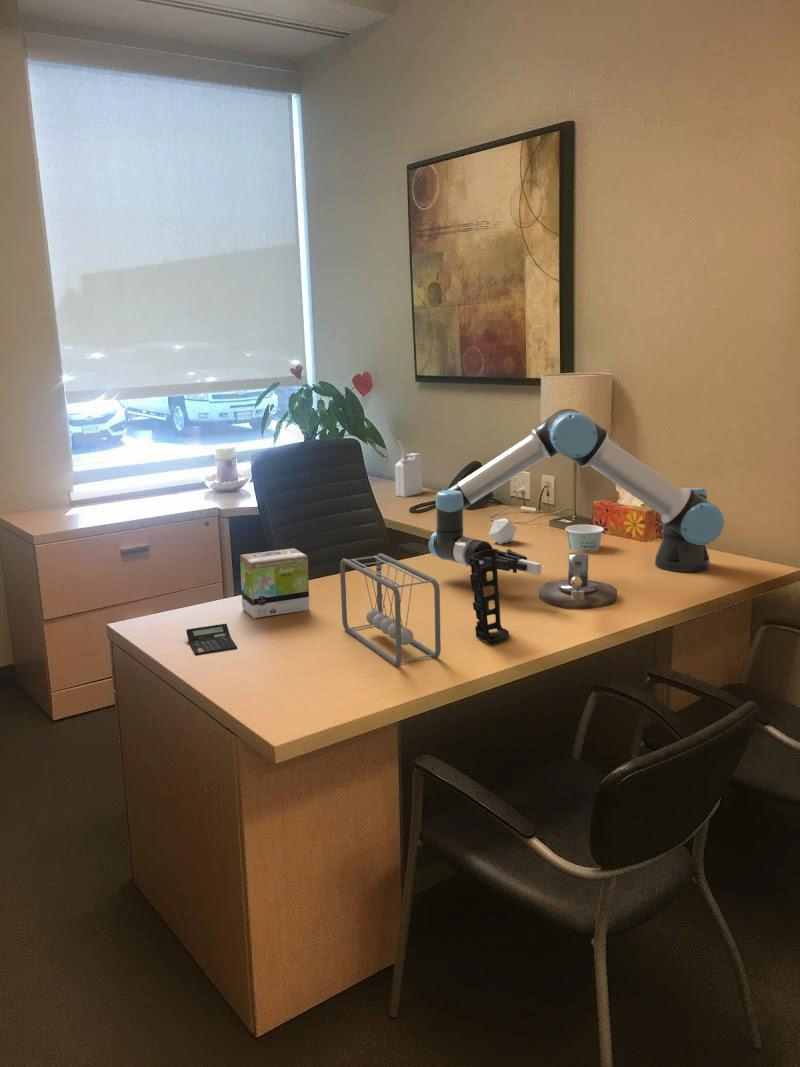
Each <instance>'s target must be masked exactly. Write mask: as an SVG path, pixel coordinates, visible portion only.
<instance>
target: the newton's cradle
mask: <svg viewBox="0 0 800 1067" xmlns="http://www.w3.org/2000/svg"><path fill="white" fill-rule="evenodd" d="M373 558H374V559H375V564H376V565H375V567H374V566H373V568H371V567H367V566H366V563H363V564H362V563H361V562H359V561H361V560H367V559H373ZM383 563H384V564H386V567H388V570H386V572H387V575H383V574H382V572H384V570H382V568H384V567H385V565H383ZM371 564H373V562H370V563H368V565H371ZM346 565H347V566H348V567H350V568H352V569H353V570H355V571H357V572H358V573H361V574H363V576H364V578H365V582H366V587H367V592H368V596H369V599H370V605H371V609H369V610H368V611H367V612H366V616H365V618H366V621H367V622H368V624H365V625H359V626H353V627H350V626H349V624H348V612H347V611H348V610H347V588H346ZM390 567H391V568H393V569H392V571H395V570H396V571H395V574H393V576H394V579H390V578H389V576H392V574H390V573H389V572H390V571H391V569H390ZM374 569H375V570H374ZM339 570H340V571H339V572H340V573H339V574H340V598H341V600H340V601H341V618H342V619H341V620H342V621H341V622H342V626H343V628H344V630H345V631H346V632H347V633H349V634H350V635H351V636H353V637H355V639H357V640H359V642H361V643H362V644H364V645H365V646H367V647H368V648H369V649H371V650H372V651H374V652H375V653H376V654H378V655H379V656H380V657H382V658H383V659H384V660H386V661H387V662H389V663H390V664H392V665H393V666H395V667H398V666H400V665H401V664H402V663H406V662H407V663H408V662H411V661H416V660H421V659H426V658H431V657H432V658H434V659H437V658H438V657H439V656H440V655H441V652H442V651H441V598H440V597H441V594H440V593H441V590H440V589H441V588H440V584H439V583H438V581H437V579H436V578H434V577H431V576H430V575H428V574H425V573H423V572H422V571H419V570H418V569H415V568H413V567H411V566H410V565H407V564H405V563H402V562H401V561H399V560H396V559H394V558H393V557H391V556H388V555H386V554H384V553H380V552H379V553H378V554H377V555H373V556H365V557H360V558H359V557H358V558H351V559H347V558H342V559H341V560H340V563H339ZM398 571H399V572H401V573H399V575H402V574H403V578H402V584H400V583H399V582H397V580H400V578H398V579H397V575H398V573H397V572H398ZM406 575H408V576H409V577H408V579H409V578H410V579H411V583H406V584H404V582H405V579H406V577H405V576H406ZM367 577H369V578H370V579H371V582H372V586H373V591H374V592H373V593H374V595H375V596H374V597H375V606H374V607H373V604H372V599H371V594H370V590H369V586H368V581H367ZM414 579H416V580H417V582H413V580H414ZM374 581H375V582H376V589H375V584H374ZM418 581H419V582H418ZM428 583H431V584H432V586H433V590H434V594H433V595H434V598H433V599H434V636H435V637H434V641H435V643H434V648H435V651H433V650H432V649H430V648H429V647H427V646H425V645H424V644H422V643H421V642H420V641H418V640H416V639H414V633H413V631H412V630H411V629H410V628H409V627H408V620H406V622H405V626H404V625H403V620H402V616H401V614H402V613H401V602H402V596H403V595H402V594H403V589H404V587H409V586H410V589H412V586H414V585H421V584H428ZM382 586H384V587H385V591H384V596H383V593H382V590H383V589H382ZM399 588H401V591H400V590H399ZM389 589H390V590H391V591H392V595H393V596H392V598H391V599H390V594H389ZM386 594H387V596H388V600H389V606H390V610H389V616H387V612H386V606H385V601H386V600H385V598H386ZM411 595H412V590H410V593H409V599H408V604H410V602H411ZM393 599H394V600H393ZM393 601H394V612H393ZM409 610H410V605H408V607H407V613H406V614H407V615H406V619H408V618H409ZM384 611H385V613H384ZM391 614H392V617H391ZM371 626H374V627H375V628H376V629H377V630H381V632H382V633H383V634H385V635H388V636H389V637H390V638H391V639H393V640H395V654H396V656H395V657H396V659H395V658H394V657H393V656H391V655H389V654H388V653H387V652H385V651H384V650H382V649H381V648H379V647H378V646H377V645H375V644H374V643H372V642H371V641H369V640H368V639H367V638H366V637H364V636H362V634H360V633H358V632H357V631H355V629H361V628H366V627H371ZM410 644H412V645H413V646H415V647H416V648H418V649H419V650H421V651H422V652H424V653H426V654H427V655H423V656H418V657H414V658H413V657H412V658H409V659H404V660H402V659H403V656H402V646H408V645H410Z"/></svg>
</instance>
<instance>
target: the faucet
mask: <svg viewBox="0 0 800 1067" xmlns="http://www.w3.org/2000/svg"><path fill="white" fill-rule="evenodd" d="M567 566H568V567H567V568H568V570H567V571H568V572H567V573H568V574H567V575H568V579H564V580H565V581H561V582H560V583H559V584H558V589H559V590H560V591H563V592H566V593H571V591H574V590H576V591H577V594H578V591H584V594H588V593H593V592H595V591H597V588H598V585H597V584H596V583H594V582H592V581H593V580H591V581H588V580H589V554H588V552H579V551H573V552H569V553H568V565H567Z"/></svg>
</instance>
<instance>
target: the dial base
mask: <svg viewBox="0 0 800 1067" xmlns="http://www.w3.org/2000/svg"><path fill="white" fill-rule="evenodd" d="M565 580H566V579H559V580H553V581H549V582H546V583H543V584H542V585H540V586H539V588H538V599H539V600H540V599H541V600H542V601H541V600H540V601H541V602H543V603H545V604H547V605H550V606H554V607H558V608H563V609H569V610H570V609H573V610H593V609H600V608H606V607H609V606H612V605H614V604H615V603H616V602H617V600H618V590H617V588H616V587H614V586H612V585H611V584H609V583H605V582H601V581H596V580H589V579H588V581H592V582H594V583H596V584H597V585H598V588H597V591H595V592H593V593H588V594H584V591H578V594H577V591H576V590H574V591H571V593H566V592H563V591H560V590H559V589H558V584H559V583H560V582H561V581H565Z"/></svg>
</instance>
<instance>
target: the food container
mask: <svg viewBox="0 0 800 1067" xmlns="http://www.w3.org/2000/svg"><path fill="white" fill-rule="evenodd" d="M564 529H565V530H566V533H567V541H568V548H569V549H570V550H571V549H572V550H571V551H573V550H577V551H576V552H579V551H592V552H596V551H595V550H597V551H599V550H598V549H600V545H601V541H602V536H603V532H604V530H605V528H604V527H603V526H600V525H593V524H573V525H568V526H566V527H565V528H564Z"/></svg>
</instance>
